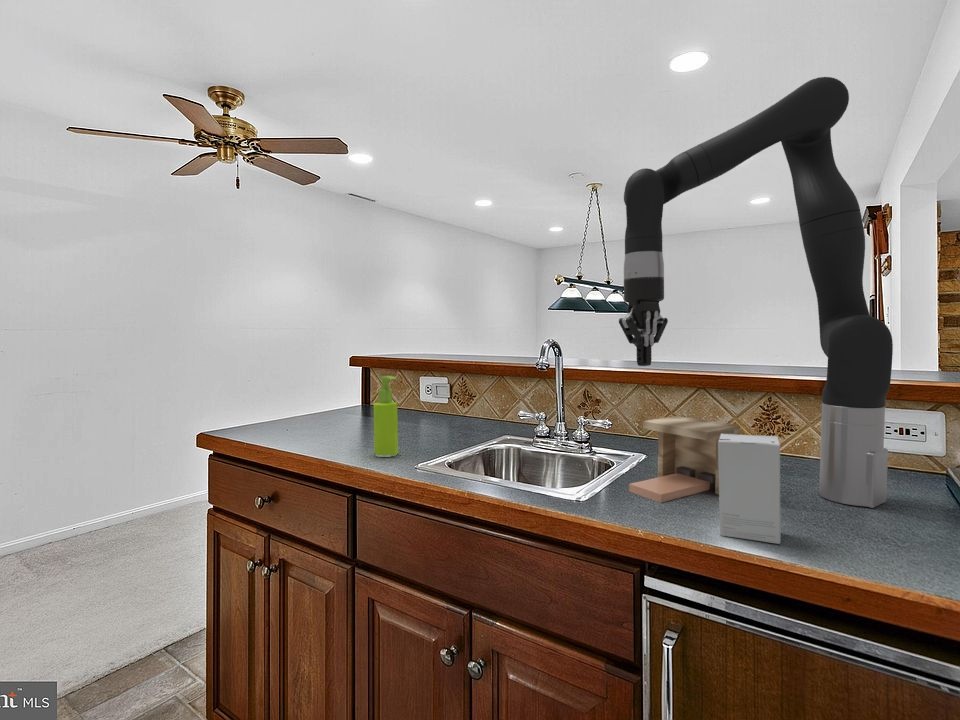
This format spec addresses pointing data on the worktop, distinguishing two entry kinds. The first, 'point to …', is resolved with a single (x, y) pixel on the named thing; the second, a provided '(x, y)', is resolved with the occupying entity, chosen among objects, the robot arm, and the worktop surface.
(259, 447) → the worktop surface
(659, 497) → the tile
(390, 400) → the soap dispenser
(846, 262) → the robot arm
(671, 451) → the shelf
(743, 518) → the skincare box
